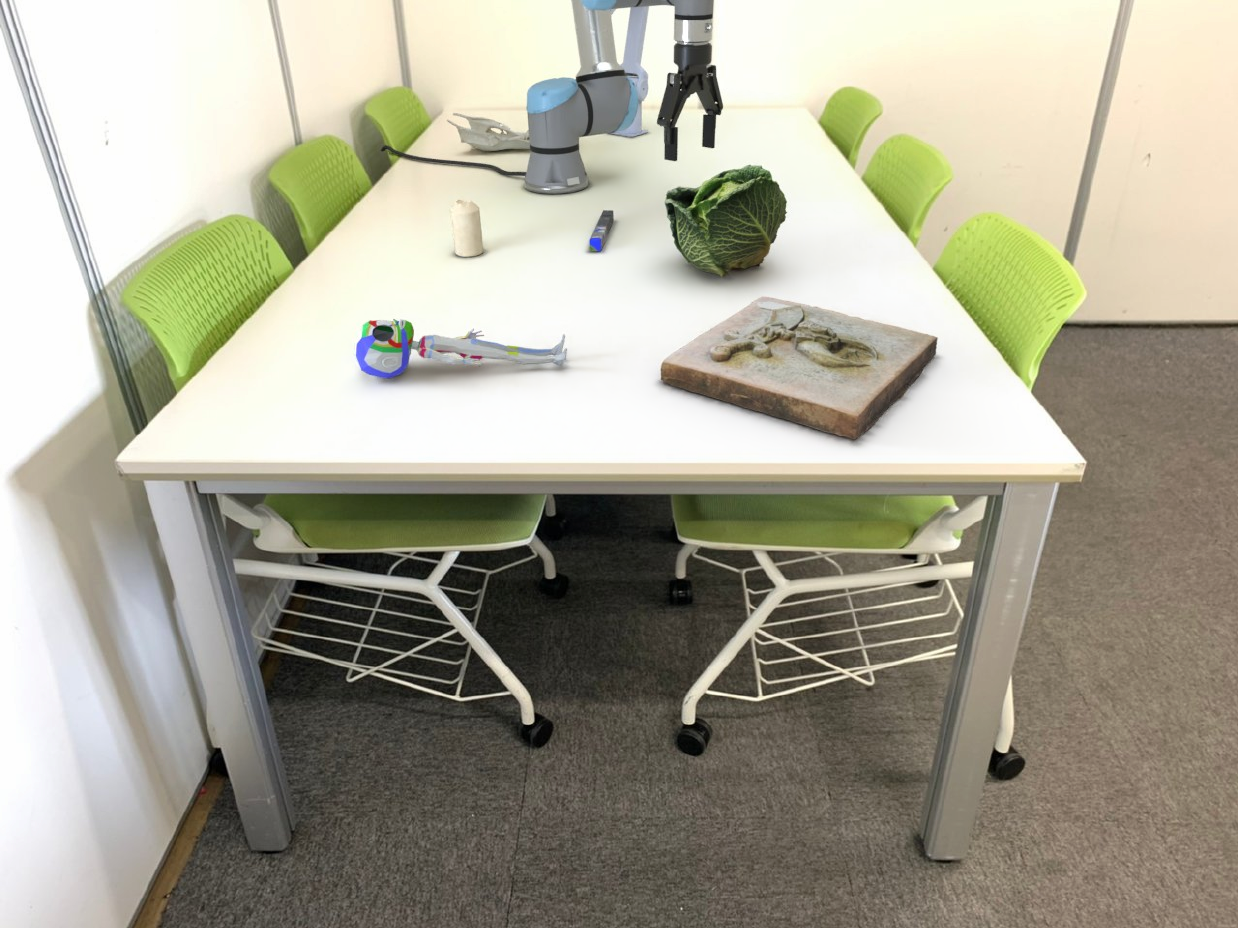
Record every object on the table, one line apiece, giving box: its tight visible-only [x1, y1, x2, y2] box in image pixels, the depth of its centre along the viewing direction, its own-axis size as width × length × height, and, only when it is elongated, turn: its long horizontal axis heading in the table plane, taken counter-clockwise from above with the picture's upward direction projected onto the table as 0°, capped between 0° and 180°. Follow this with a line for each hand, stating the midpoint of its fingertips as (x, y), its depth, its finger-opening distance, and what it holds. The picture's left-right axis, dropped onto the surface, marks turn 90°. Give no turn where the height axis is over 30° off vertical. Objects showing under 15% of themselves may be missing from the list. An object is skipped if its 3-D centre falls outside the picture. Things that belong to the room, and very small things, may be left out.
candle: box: [449, 199, 484, 258], centre depth 172 cm, size 6×6×10 cm
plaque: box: [660, 296, 939, 441], centre depth 128 cm, size 30×7×30 cm
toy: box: [353, 318, 568, 379], centre depth 130 cm, size 10×8×30 cm
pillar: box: [588, 209, 615, 252], centre depth 182 cm, size 2×2×20 cm
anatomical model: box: [446, 112, 530, 152], centre depth 245 cm, size 15×9×25 cm
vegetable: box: [664, 164, 788, 278], centre depth 161 cm, size 20×19×20 cm
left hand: (690, 153), depth 188 cm, fingers open, 13 cm apart
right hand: (596, 111), depth 243 cm, fingers open, 7 cm apart
